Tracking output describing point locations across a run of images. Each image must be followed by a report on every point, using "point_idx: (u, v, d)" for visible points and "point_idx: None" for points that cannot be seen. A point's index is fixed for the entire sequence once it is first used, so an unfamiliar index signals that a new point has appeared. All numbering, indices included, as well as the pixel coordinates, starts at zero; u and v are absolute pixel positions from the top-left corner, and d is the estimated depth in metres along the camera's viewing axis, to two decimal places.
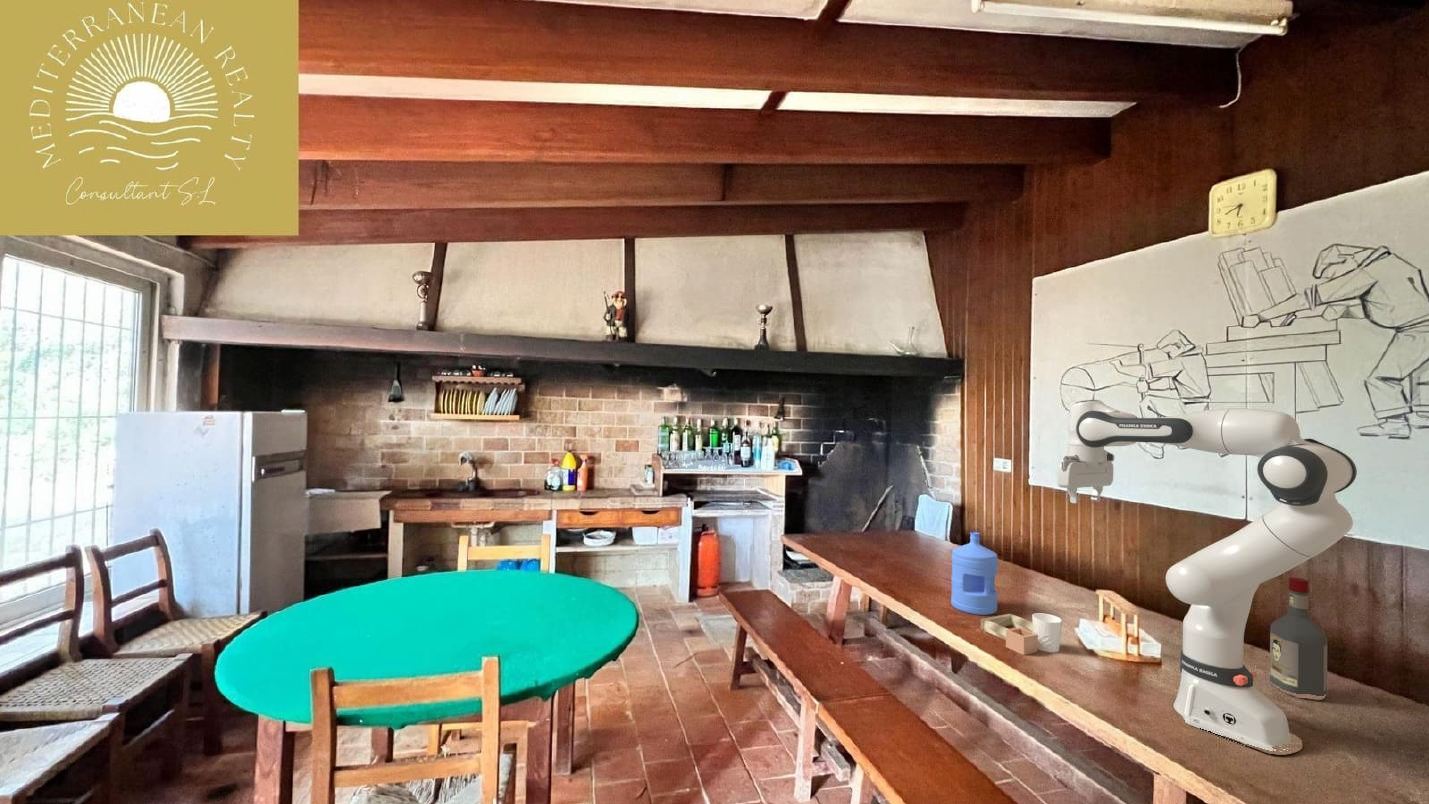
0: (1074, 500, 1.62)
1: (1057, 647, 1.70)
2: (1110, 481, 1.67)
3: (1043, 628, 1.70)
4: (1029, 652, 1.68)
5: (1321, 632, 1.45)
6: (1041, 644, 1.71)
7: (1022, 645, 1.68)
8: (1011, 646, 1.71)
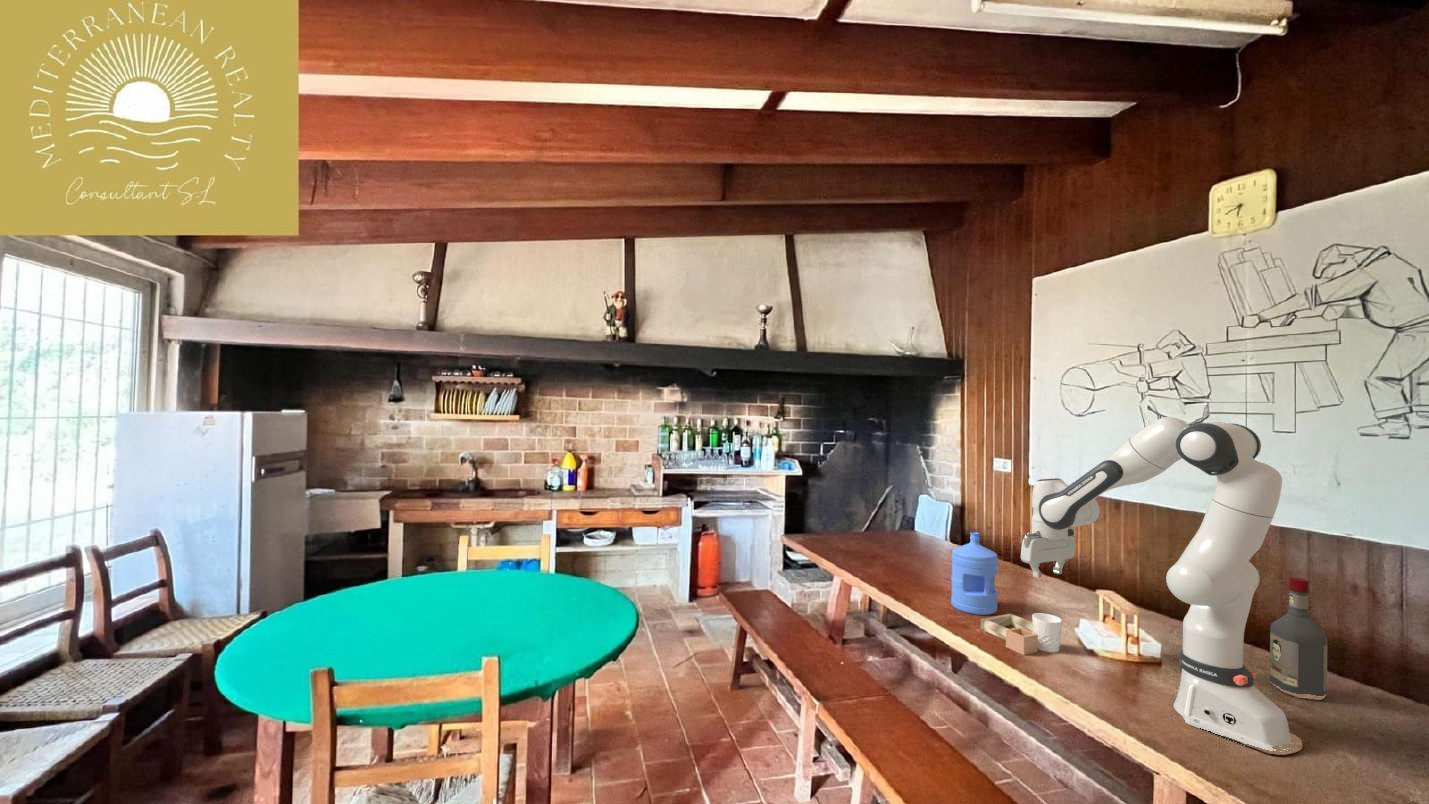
0: (1036, 574, 1.70)
1: (1057, 647, 1.70)
2: (1072, 554, 1.75)
3: (1043, 628, 1.70)
4: (1029, 652, 1.68)
5: (1321, 632, 1.45)
6: (1041, 644, 1.71)
7: (1022, 645, 1.68)
8: (1011, 646, 1.71)
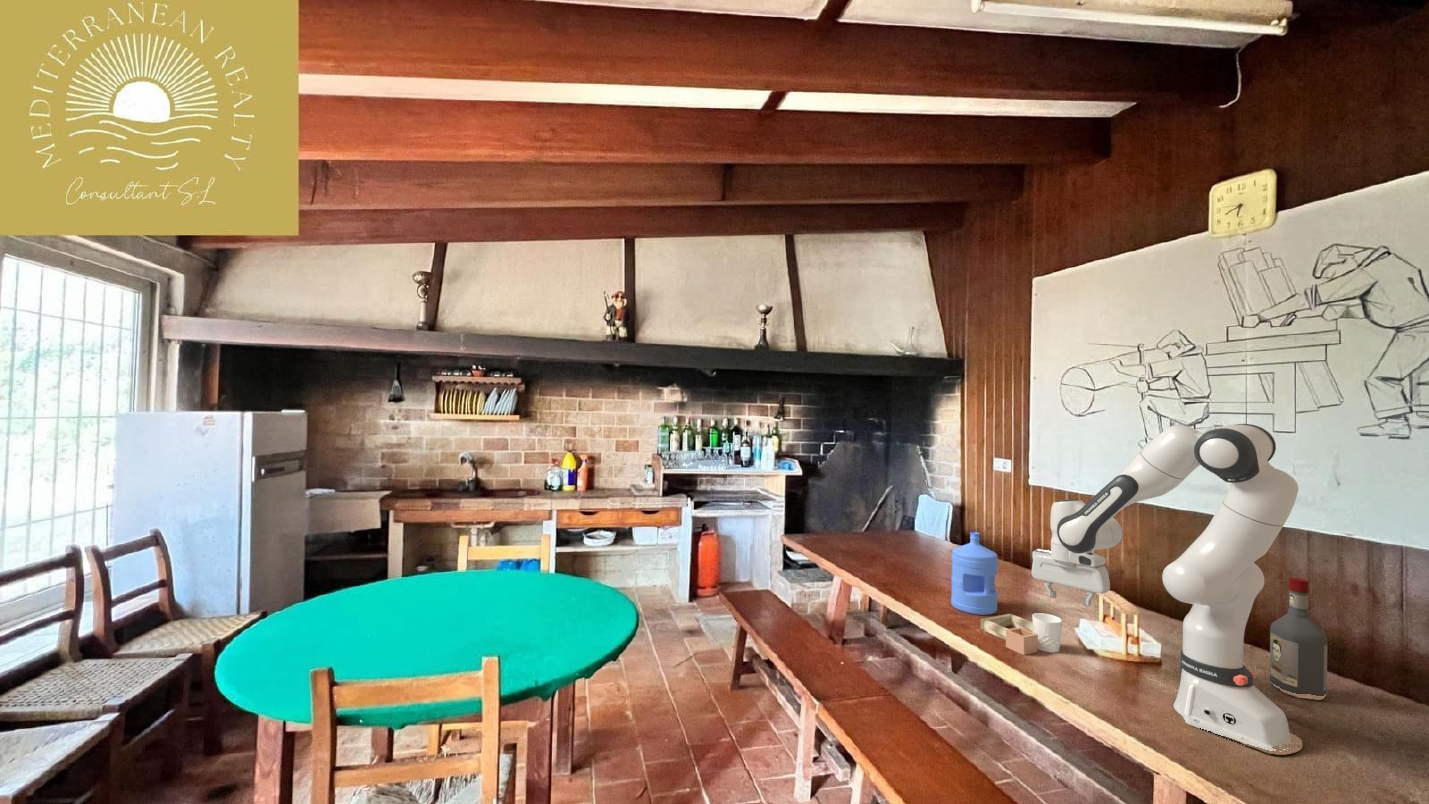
0: None
1: (1057, 647, 1.70)
2: (1098, 589, 1.57)
3: (1043, 628, 1.70)
4: (1029, 652, 1.68)
5: (1321, 632, 1.45)
6: (1041, 644, 1.71)
7: (1022, 645, 1.68)
8: (1011, 646, 1.71)
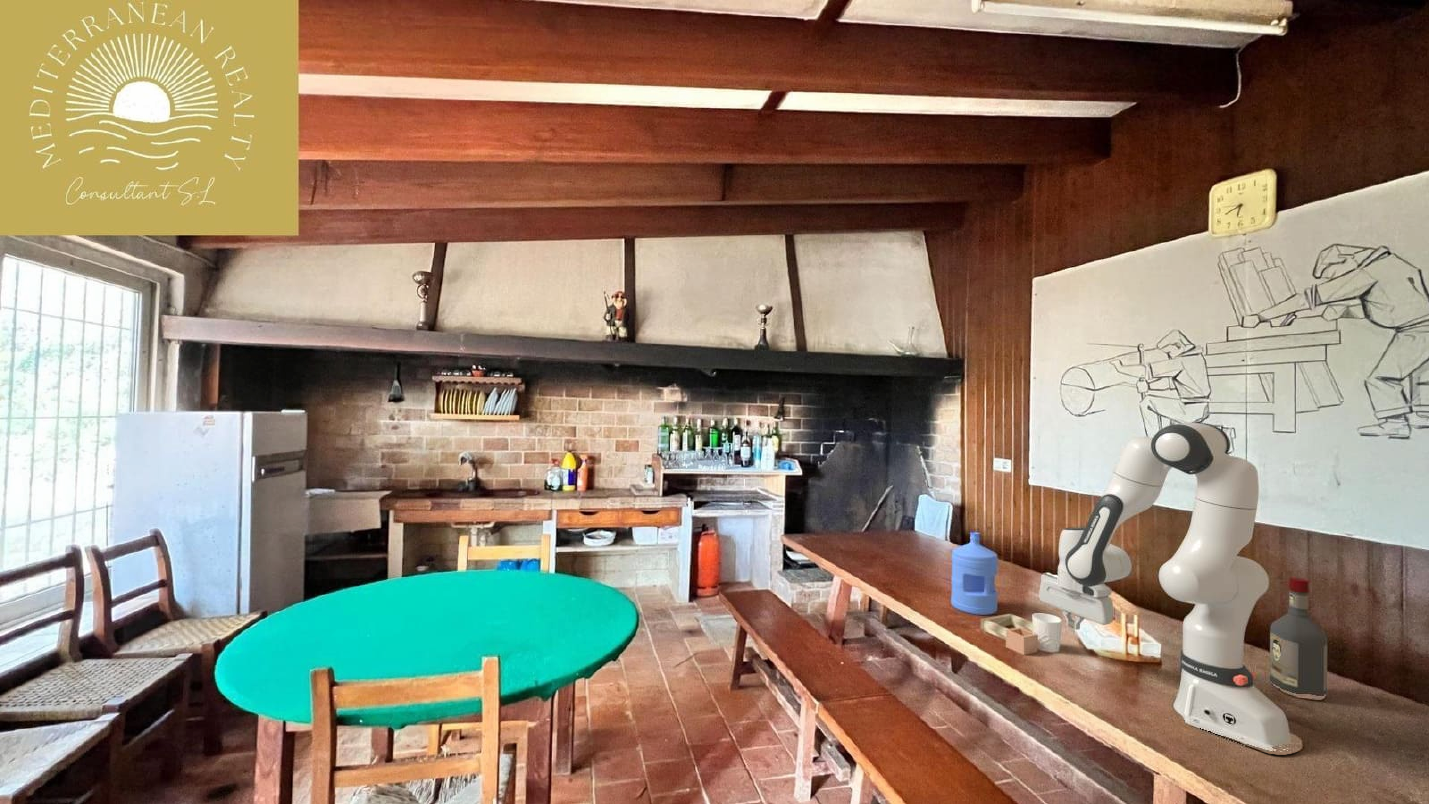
0: None
1: (1057, 647, 1.70)
2: (1100, 619, 1.57)
3: (1043, 628, 1.70)
4: (1029, 652, 1.68)
5: (1321, 632, 1.45)
6: (1041, 644, 1.71)
7: (1022, 645, 1.68)
8: (1011, 646, 1.71)
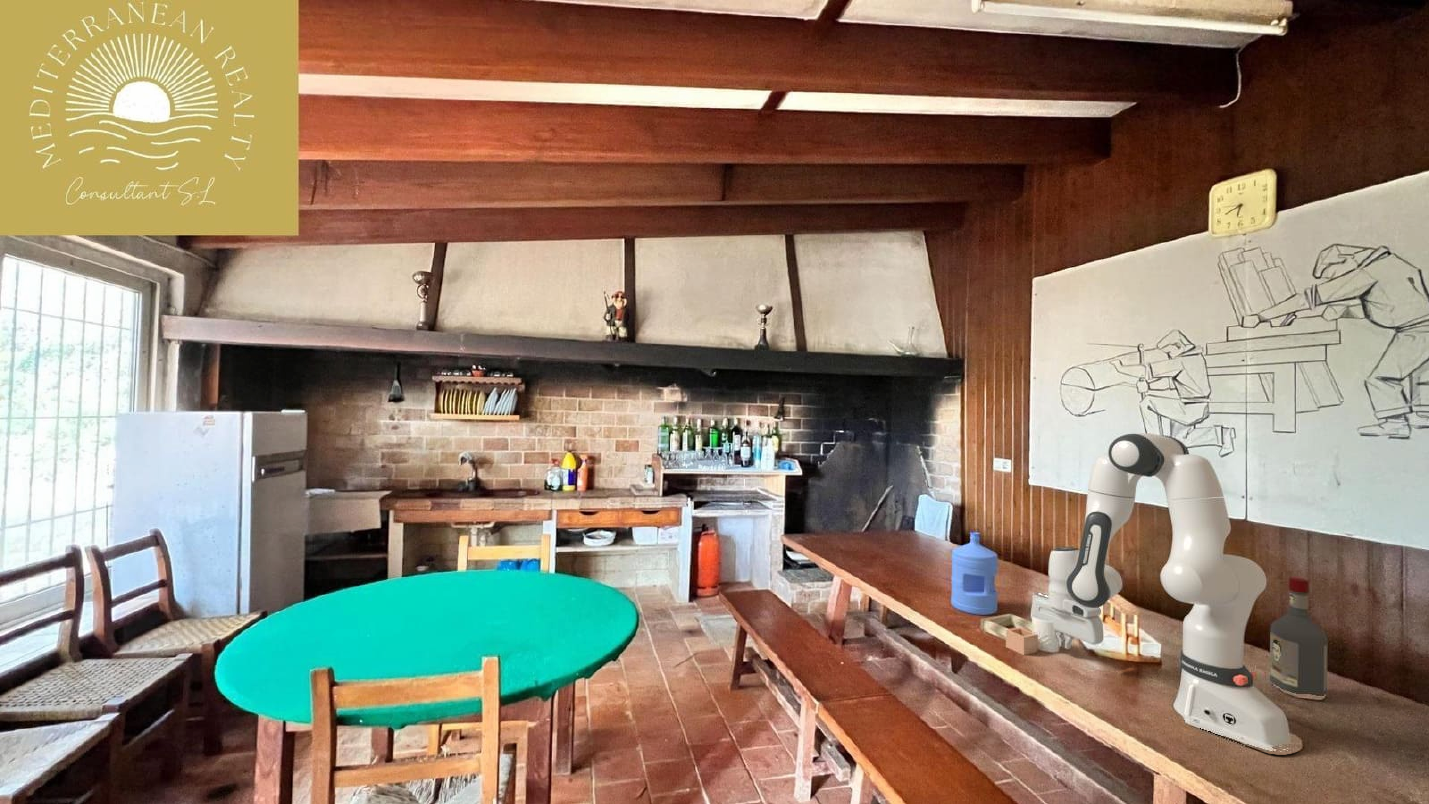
0: None
1: (1057, 647, 1.70)
2: (1090, 639, 1.59)
3: (1043, 628, 1.70)
4: (1029, 652, 1.68)
5: (1321, 632, 1.45)
6: (1041, 644, 1.71)
7: (1022, 645, 1.68)
8: (1011, 646, 1.71)
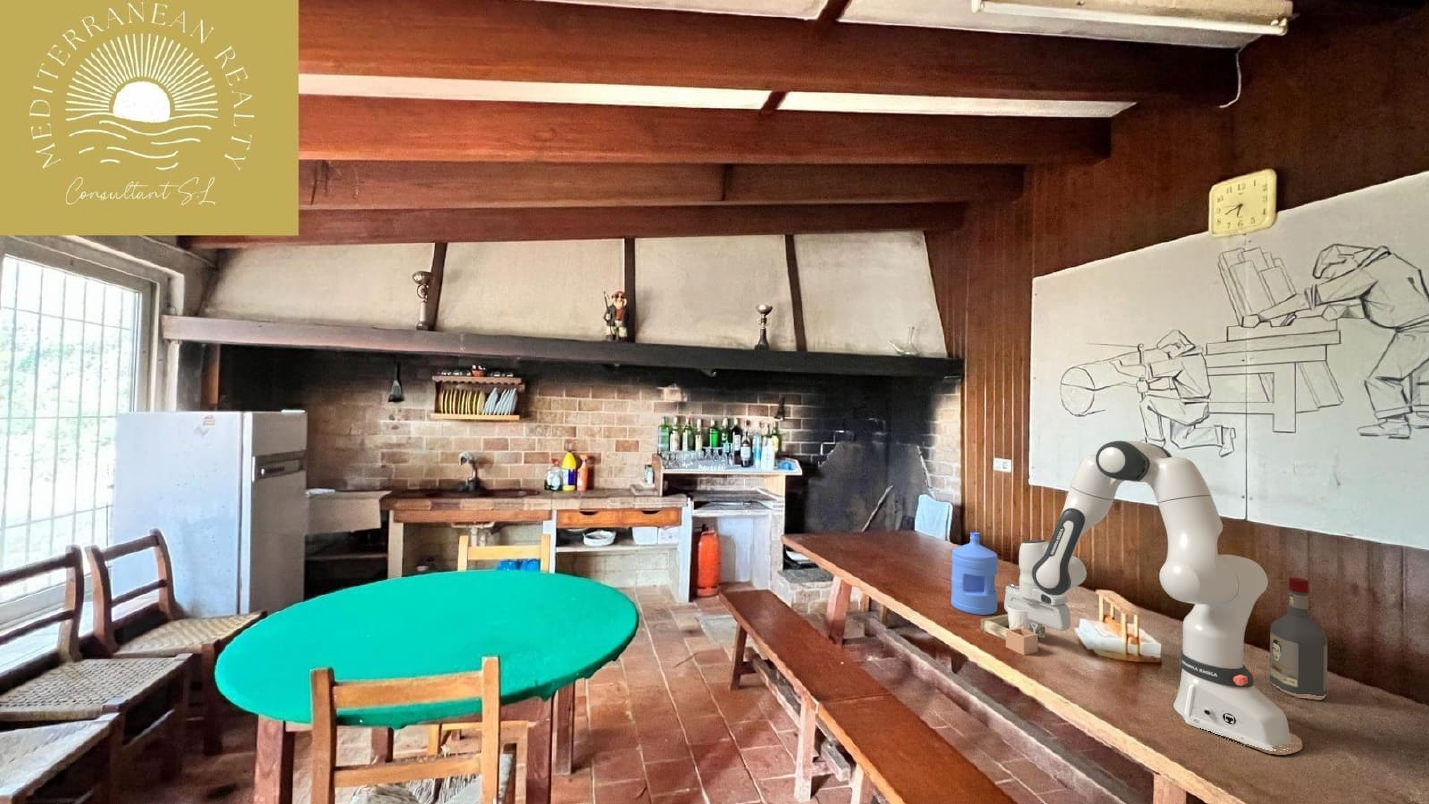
0: None
1: None
2: (1058, 626, 1.68)
3: (1018, 617, 1.78)
4: (1029, 652, 1.68)
5: (1321, 632, 1.45)
6: None
7: (1022, 645, 1.68)
8: (1011, 646, 1.71)
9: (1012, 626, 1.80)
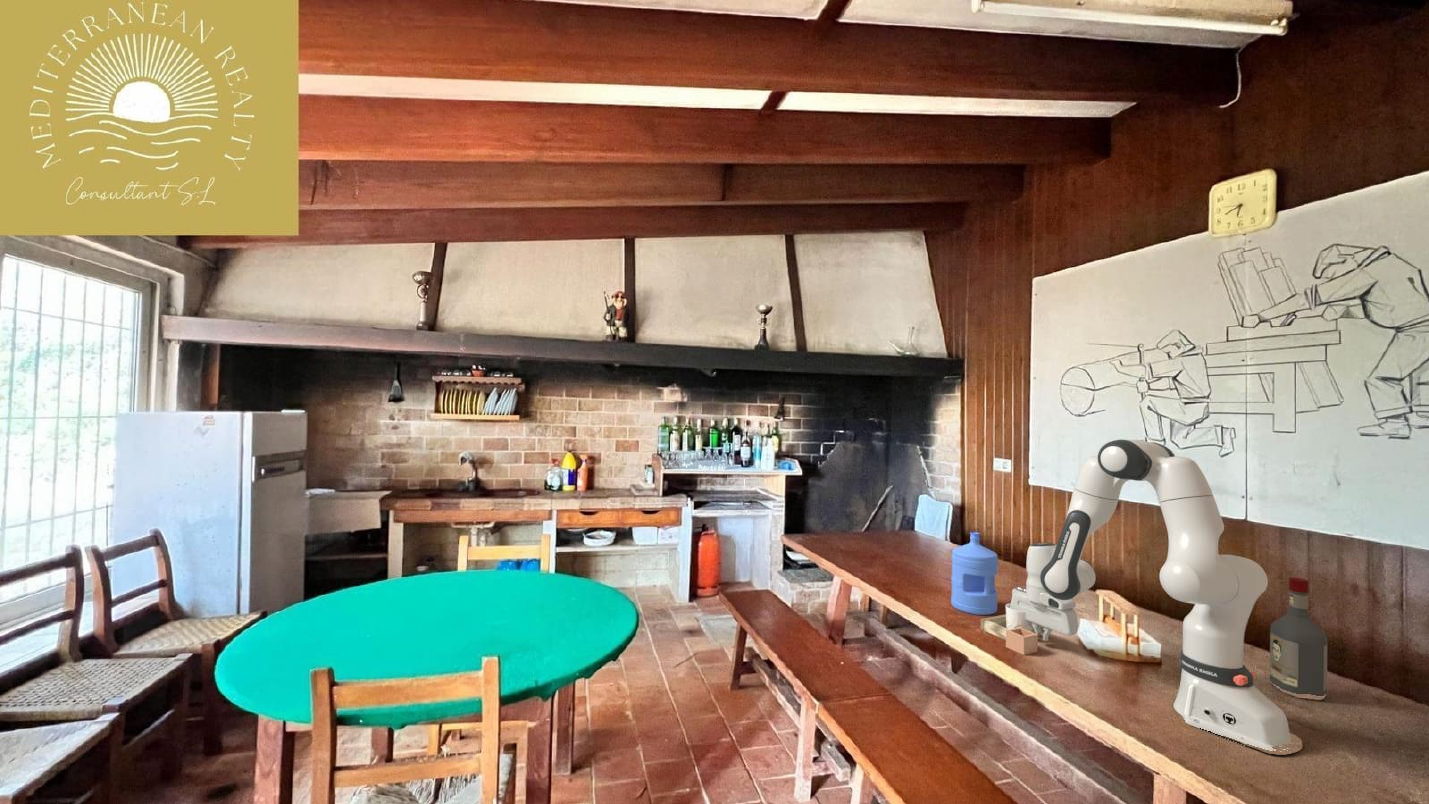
0: None
1: None
2: (1065, 631, 1.66)
3: (1016, 618, 1.78)
4: (1029, 652, 1.68)
5: (1321, 632, 1.45)
6: None
7: (1022, 645, 1.68)
8: (1011, 646, 1.71)
9: (1009, 625, 1.80)
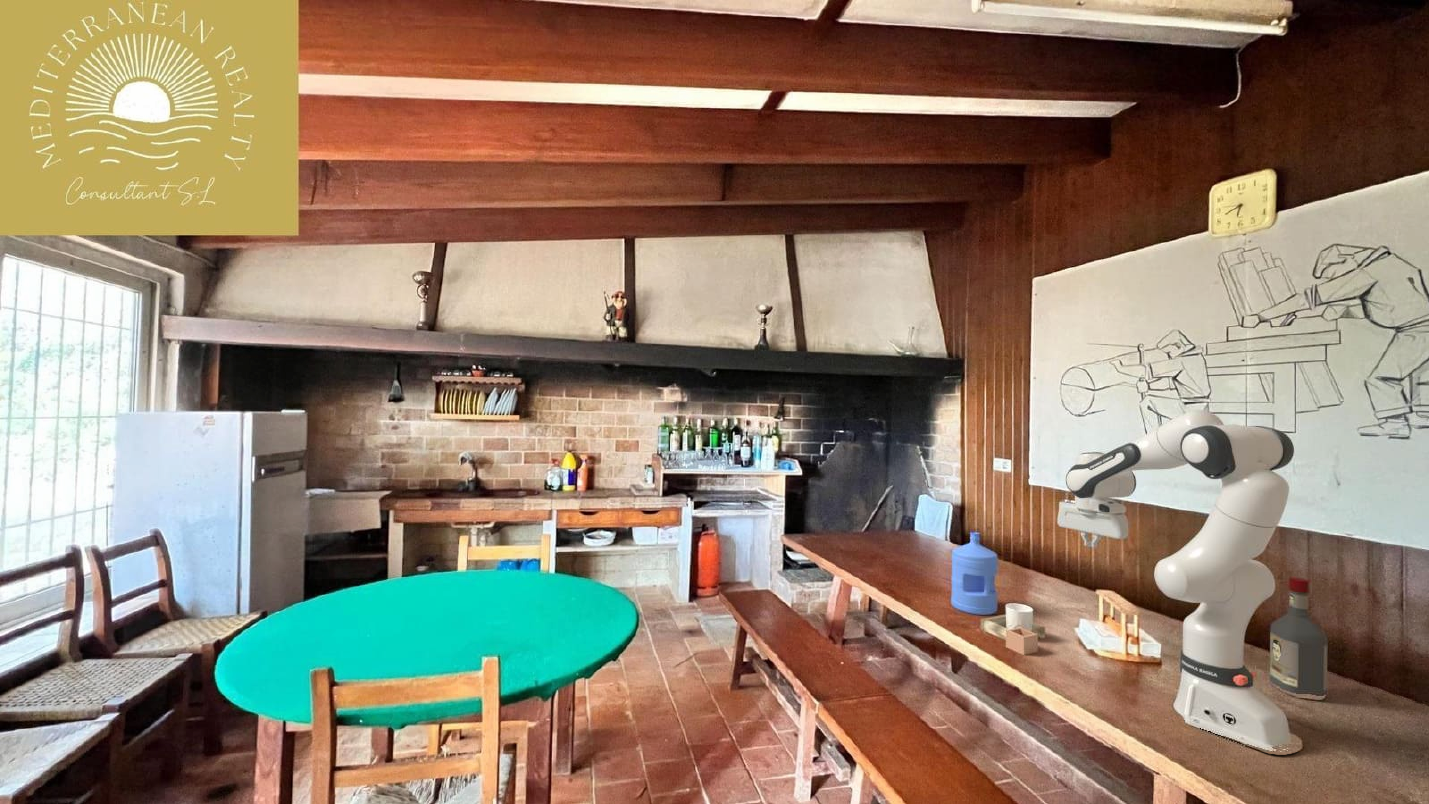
0: None
1: None
2: (1116, 534, 1.68)
3: (1016, 618, 1.78)
4: (1029, 652, 1.68)
5: (1321, 632, 1.45)
6: None
7: (1022, 645, 1.68)
8: (1011, 646, 1.71)
9: (1009, 625, 1.81)
